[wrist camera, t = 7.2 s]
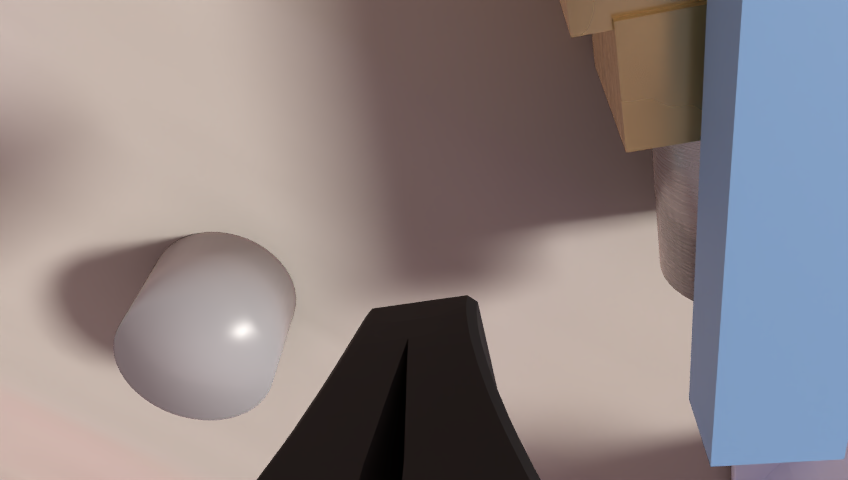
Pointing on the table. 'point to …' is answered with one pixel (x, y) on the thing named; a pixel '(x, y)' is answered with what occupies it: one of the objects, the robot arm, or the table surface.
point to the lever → (772, 234)
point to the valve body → (655, 104)
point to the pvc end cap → (207, 327)
